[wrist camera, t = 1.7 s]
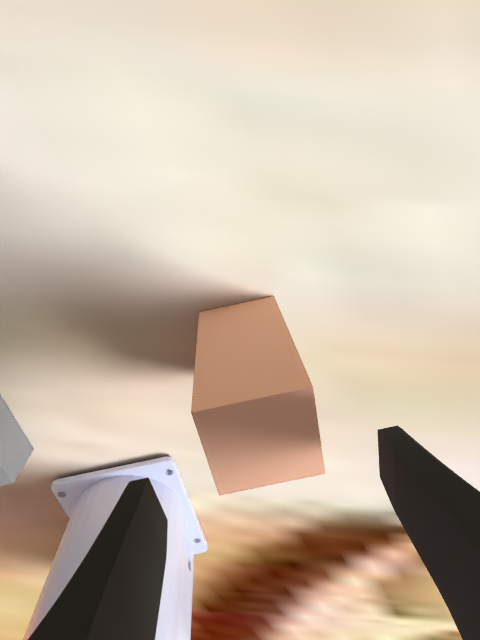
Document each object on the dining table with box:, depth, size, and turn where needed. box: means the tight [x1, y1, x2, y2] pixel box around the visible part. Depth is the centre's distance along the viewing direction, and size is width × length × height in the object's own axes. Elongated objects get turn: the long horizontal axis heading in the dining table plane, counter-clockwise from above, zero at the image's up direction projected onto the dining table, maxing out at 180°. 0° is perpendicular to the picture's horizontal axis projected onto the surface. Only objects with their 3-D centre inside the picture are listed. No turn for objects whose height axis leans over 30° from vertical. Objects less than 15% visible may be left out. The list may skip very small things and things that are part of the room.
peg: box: [191, 296, 325, 495], centre depth 16 cm, size 4×4×8 cm
